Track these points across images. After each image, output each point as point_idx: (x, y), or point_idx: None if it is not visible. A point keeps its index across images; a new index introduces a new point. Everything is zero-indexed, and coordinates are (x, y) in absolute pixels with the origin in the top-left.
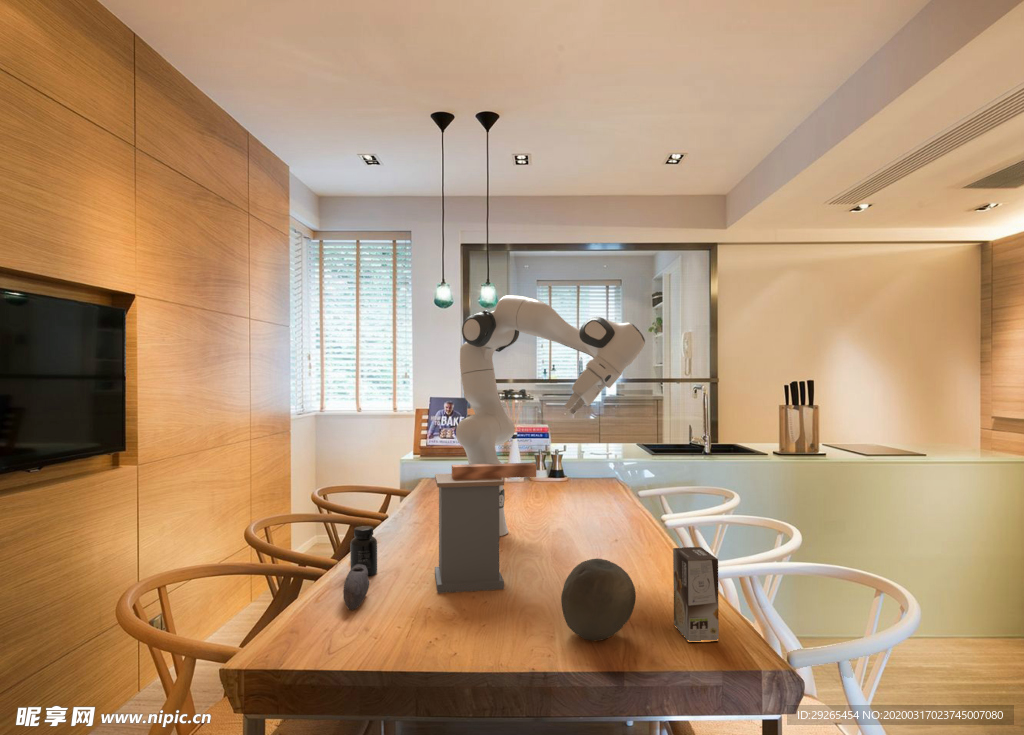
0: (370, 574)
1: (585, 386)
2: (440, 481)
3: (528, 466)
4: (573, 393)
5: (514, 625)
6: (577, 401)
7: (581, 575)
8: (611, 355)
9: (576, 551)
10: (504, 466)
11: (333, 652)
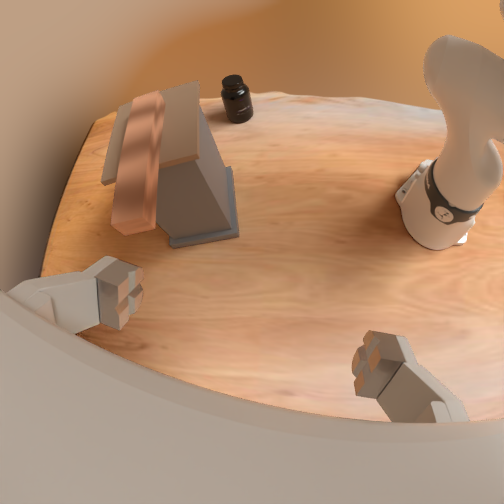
0: (229, 119)
1: None
2: (130, 104)
3: (114, 209)
4: (8, 294)
5: (92, 259)
6: (427, 410)
7: None
8: None
9: (337, 360)
10: (119, 165)
11: (93, 153)
